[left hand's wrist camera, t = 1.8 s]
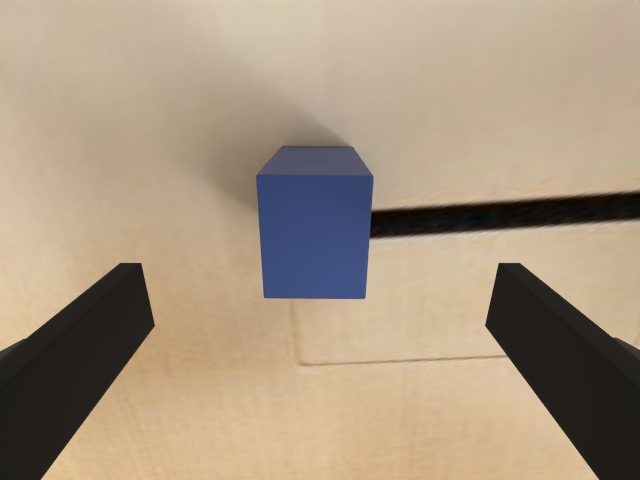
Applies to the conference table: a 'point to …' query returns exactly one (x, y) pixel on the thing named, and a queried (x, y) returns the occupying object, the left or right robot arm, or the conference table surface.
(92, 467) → the conference table surface
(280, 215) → the block
